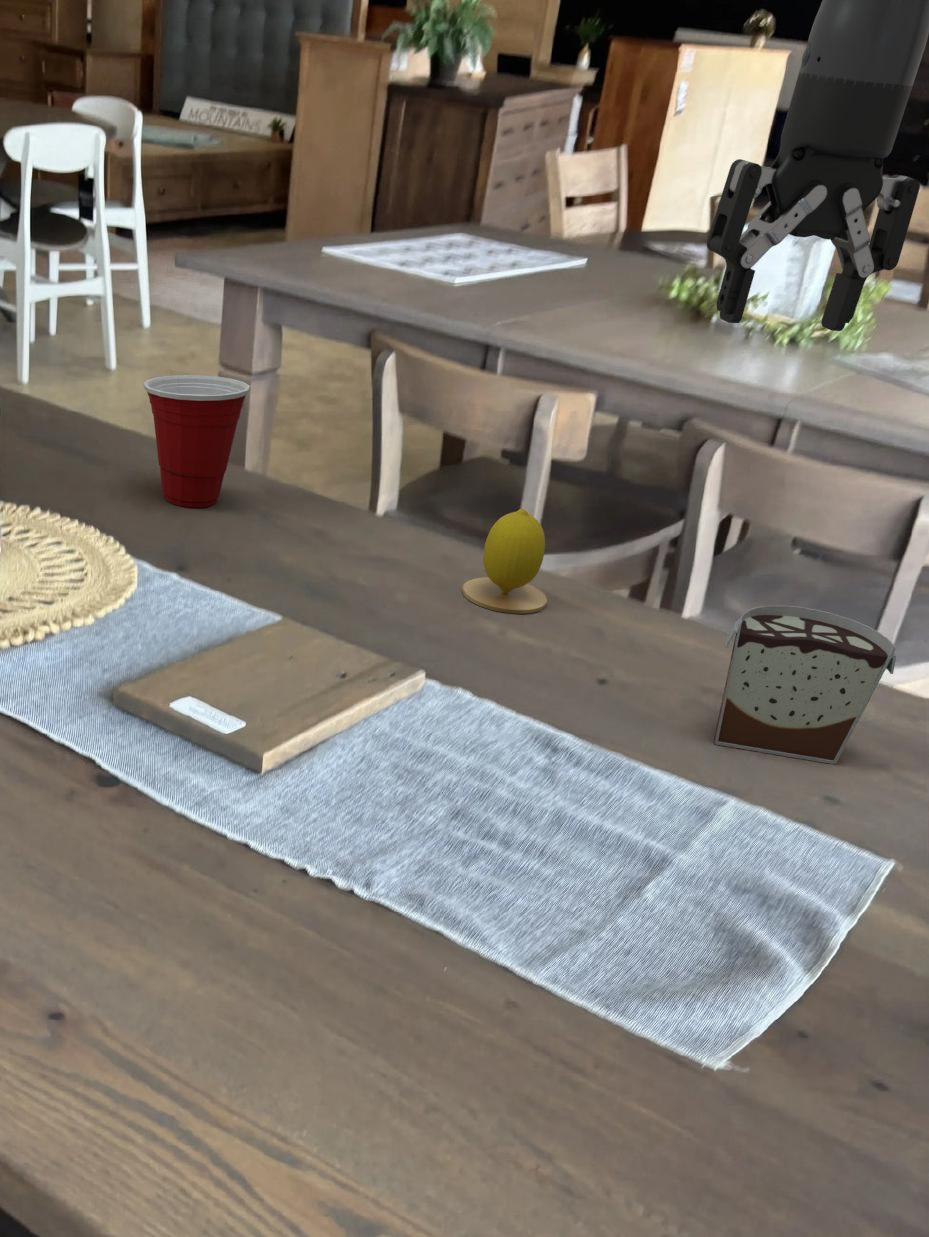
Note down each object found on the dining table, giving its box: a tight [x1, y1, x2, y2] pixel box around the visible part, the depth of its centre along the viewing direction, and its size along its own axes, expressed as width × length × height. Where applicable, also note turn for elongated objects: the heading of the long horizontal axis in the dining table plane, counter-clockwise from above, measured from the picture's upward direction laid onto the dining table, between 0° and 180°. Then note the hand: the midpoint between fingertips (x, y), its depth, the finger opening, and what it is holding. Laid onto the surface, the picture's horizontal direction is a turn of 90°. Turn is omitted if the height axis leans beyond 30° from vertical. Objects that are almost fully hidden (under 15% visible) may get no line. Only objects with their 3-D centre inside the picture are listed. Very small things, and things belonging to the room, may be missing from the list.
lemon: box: [482, 508, 546, 593], centre depth 125 cm, size 6×6×8 cm
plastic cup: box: [142, 374, 251, 509], centre depth 139 cm, size 11×11×12 cm
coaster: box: [461, 576, 548, 615], centre depth 127 cm, size 8×8×1 cm
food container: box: [713, 604, 897, 765], centre depth 104 cm, size 12×6×10 cm, turn 79°
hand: (780, 325), depth 101 cm, fingers open, 8 cm apart
